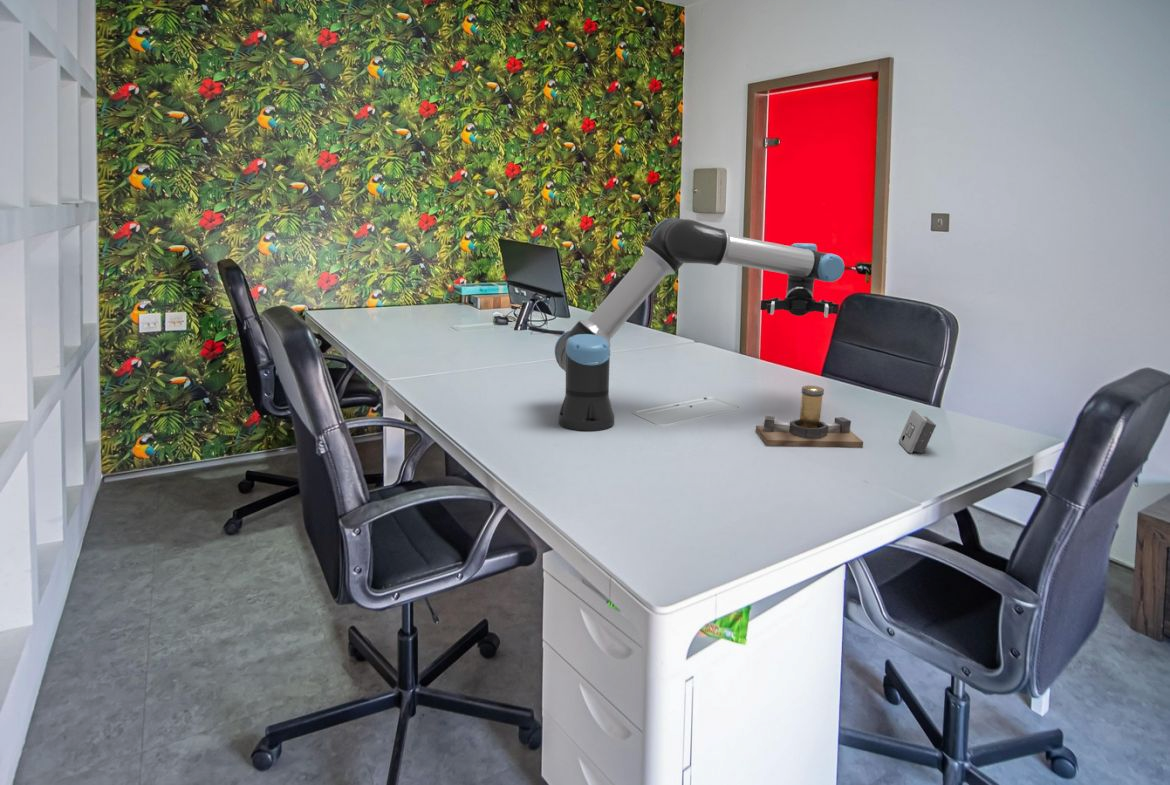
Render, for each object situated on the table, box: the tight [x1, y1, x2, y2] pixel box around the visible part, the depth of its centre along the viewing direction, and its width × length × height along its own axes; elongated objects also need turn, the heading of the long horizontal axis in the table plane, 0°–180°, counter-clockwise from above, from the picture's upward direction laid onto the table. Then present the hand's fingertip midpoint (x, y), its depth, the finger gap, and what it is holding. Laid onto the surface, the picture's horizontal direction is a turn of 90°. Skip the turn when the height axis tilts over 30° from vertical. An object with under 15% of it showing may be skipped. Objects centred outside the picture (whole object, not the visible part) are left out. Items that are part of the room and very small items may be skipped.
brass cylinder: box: [799, 385, 825, 428], centre depth 198 cm, size 5×5×12 cm
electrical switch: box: [898, 409, 937, 455], centre depth 192 cm, size 9×5×9 cm, turn 173°
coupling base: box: [755, 415, 864, 449], centre depth 199 cm, size 24×13×5 cm, turn 90°
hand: (799, 310), depth 200 cm, fingers open, 13 cm apart
